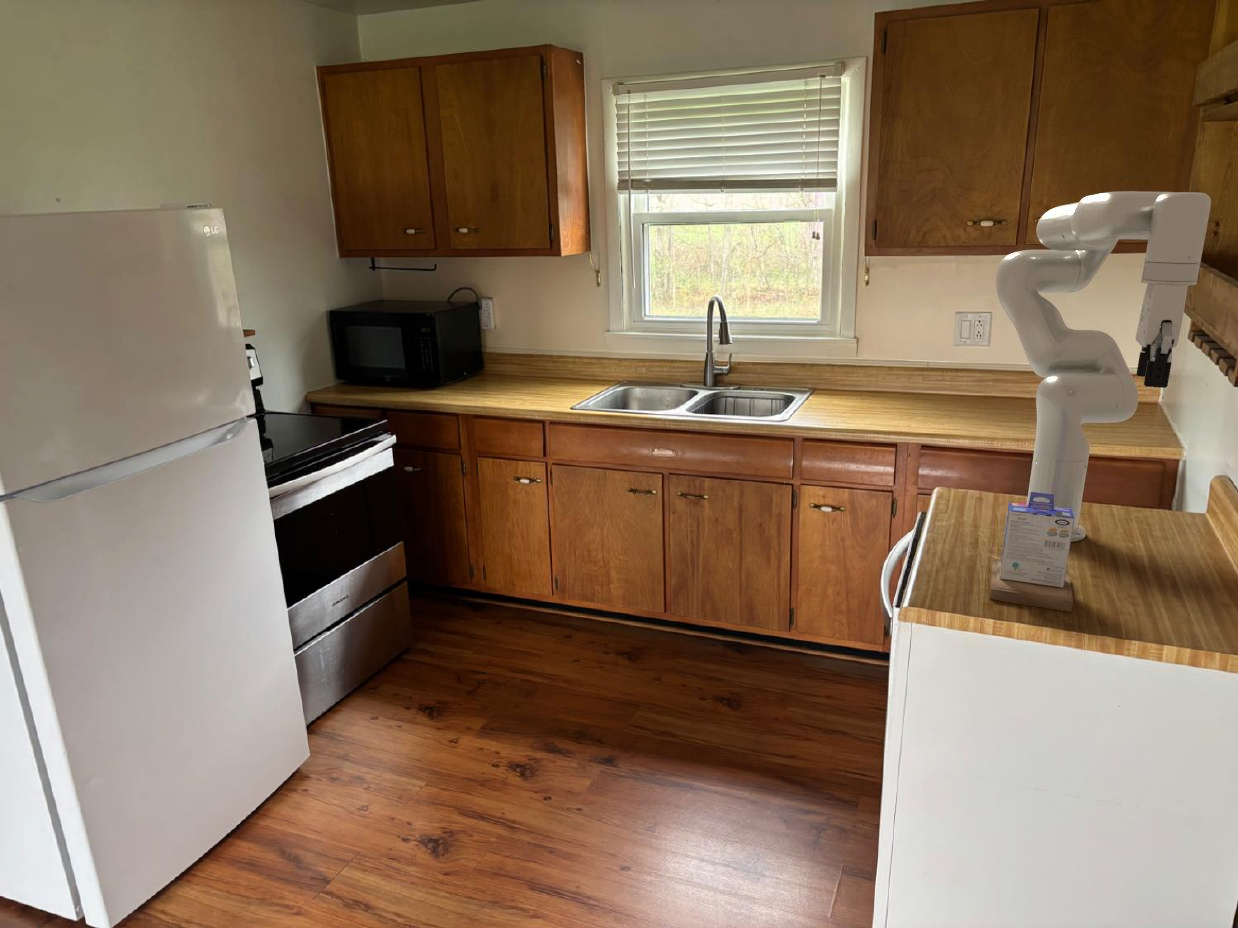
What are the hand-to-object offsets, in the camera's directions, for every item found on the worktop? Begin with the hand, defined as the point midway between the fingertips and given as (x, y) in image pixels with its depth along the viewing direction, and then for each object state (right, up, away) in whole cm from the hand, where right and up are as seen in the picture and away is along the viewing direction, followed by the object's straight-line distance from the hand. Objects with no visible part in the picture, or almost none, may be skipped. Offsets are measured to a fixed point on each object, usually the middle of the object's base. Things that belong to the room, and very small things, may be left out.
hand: (1151, 381), depth 145 cm
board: (-18, -34, +4) cm, 39 cm away
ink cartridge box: (-18, -33, +4) cm, 37 cm away
